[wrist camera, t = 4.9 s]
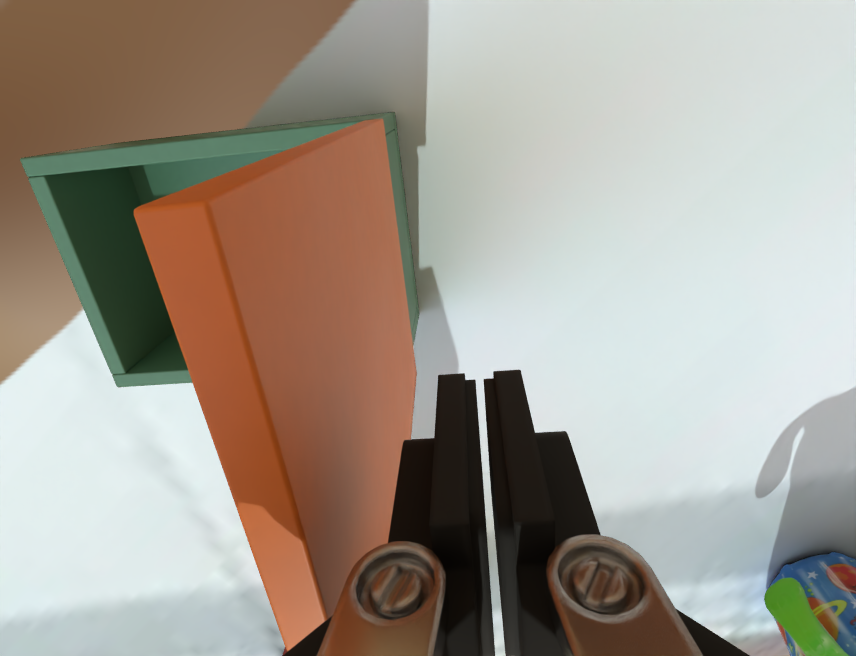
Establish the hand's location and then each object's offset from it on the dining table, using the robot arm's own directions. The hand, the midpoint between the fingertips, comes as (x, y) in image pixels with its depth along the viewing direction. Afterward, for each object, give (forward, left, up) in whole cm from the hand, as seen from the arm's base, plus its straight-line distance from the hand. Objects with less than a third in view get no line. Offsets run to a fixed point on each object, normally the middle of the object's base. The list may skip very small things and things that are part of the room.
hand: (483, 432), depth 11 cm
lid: (+3, -2, -4) cm, 6 cm away
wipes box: (+8, -8, -20) cm, 23 cm away
